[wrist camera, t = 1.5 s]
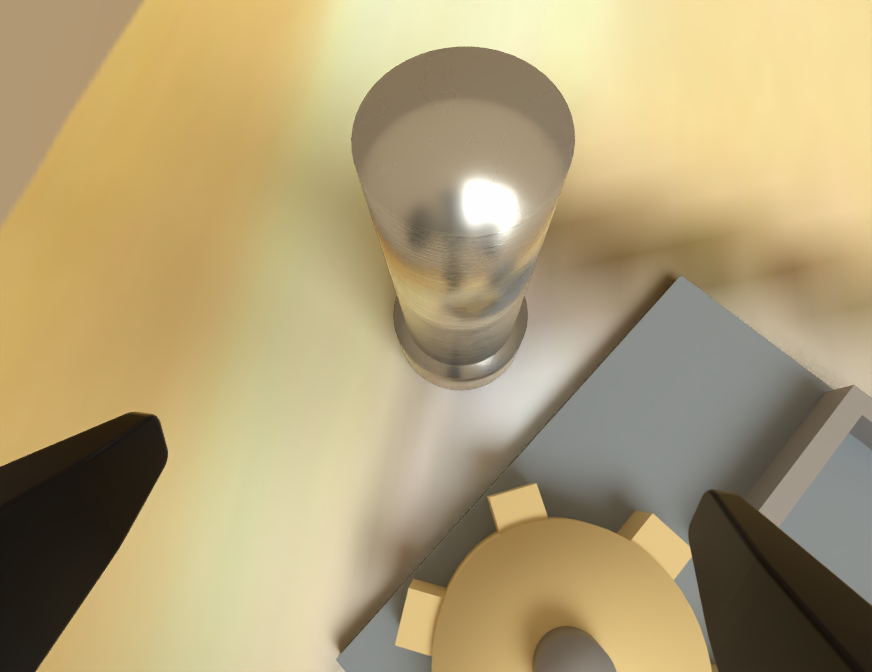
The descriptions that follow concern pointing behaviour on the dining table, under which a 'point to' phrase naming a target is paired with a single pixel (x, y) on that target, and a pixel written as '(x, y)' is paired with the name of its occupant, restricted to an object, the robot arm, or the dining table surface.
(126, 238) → the dining table surface
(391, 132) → the chrome flanged cylinder
